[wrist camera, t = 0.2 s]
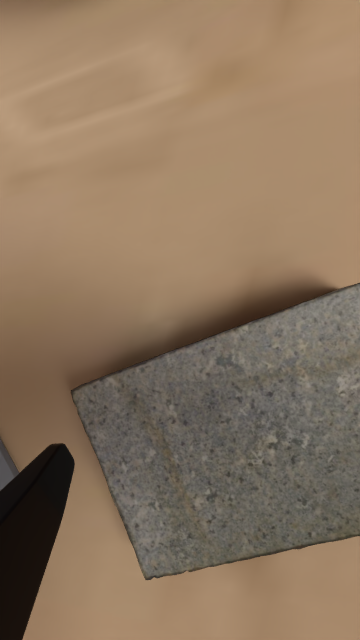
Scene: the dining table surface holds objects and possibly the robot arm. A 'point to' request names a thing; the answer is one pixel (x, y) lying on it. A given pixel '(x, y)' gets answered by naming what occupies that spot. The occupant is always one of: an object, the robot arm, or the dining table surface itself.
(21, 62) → the dining table surface
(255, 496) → the stone block
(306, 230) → the dining table surface
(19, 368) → the dining table surface
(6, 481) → the slate mat
